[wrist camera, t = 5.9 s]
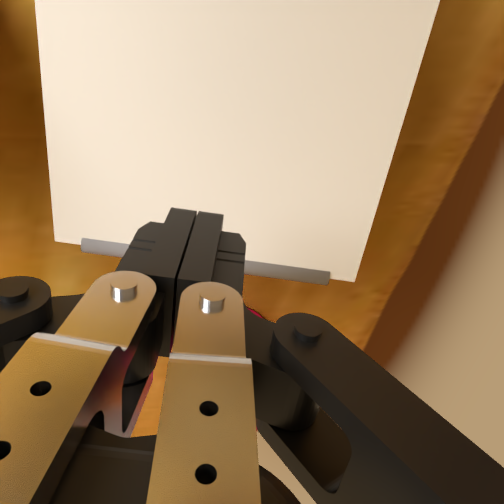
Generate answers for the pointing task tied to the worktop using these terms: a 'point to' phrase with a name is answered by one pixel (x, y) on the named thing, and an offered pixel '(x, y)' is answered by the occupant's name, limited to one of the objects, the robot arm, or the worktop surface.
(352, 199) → the lid
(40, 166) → the worktop surface
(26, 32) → the worktop surface
